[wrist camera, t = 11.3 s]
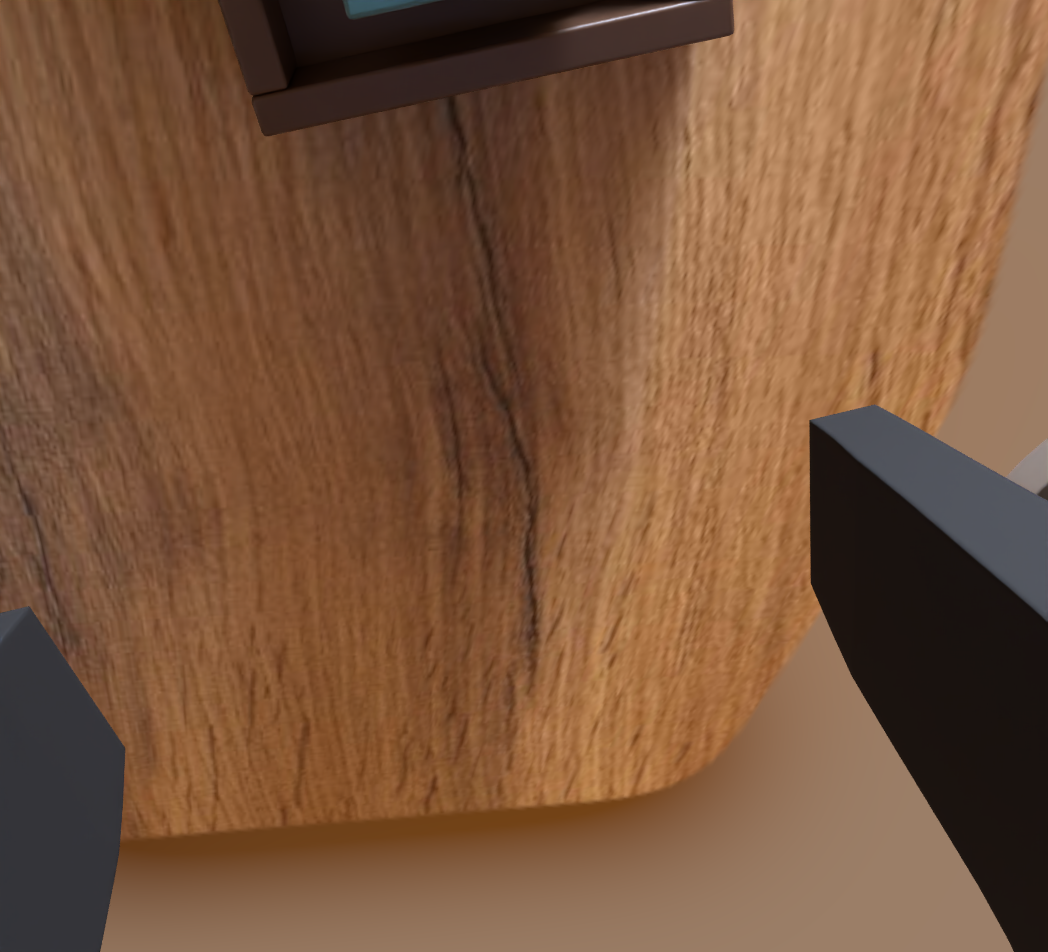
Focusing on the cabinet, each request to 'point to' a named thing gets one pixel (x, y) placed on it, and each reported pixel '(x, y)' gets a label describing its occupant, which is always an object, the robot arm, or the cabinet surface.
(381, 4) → the toy truck block
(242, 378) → the cabinet surface
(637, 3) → the long brown tray
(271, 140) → the cabinet surface
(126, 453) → the cabinet surface
